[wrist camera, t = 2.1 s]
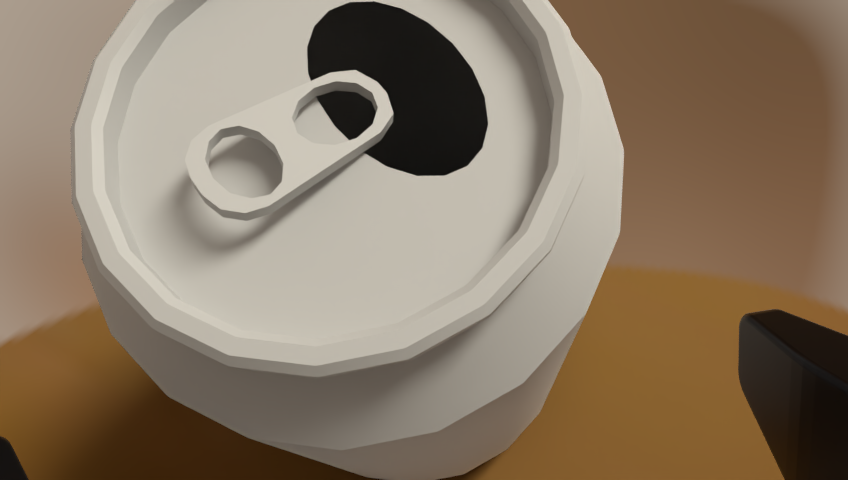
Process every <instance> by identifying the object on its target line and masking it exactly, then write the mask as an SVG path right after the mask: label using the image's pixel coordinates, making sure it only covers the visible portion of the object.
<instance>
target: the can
mask: <svg viewBox="0 0 848 480" xmlns="http://www.w3.org/2000/svg"><path fill="white" fill-rule="evenodd" d="M623 160H624V149H623V145H622V142H621V139H620V136H619V133H618V129H617V126H616V123H615V120H614V116H613V113H612V110H611V107H610V103H609V100H608V97H607V94H606V91H605V87H604V84H603V81H602V78H601V76H600V75H599V73H598V72H597V70H596V69H595V68H594V66H593V65H592V64H591V62H590V61H589V60H588V58H587V57H586V56H585V54H584V53H583V52H582V50H581V49H580V47H579V46H578V45H577V43H576V42H575V41H574V39H573V38H572V37H571V33H570V30H569V28H568V27H567V25H566V24H565V22H564V21H563V20H562V18H561V17H560V16H559V14H558V13H557V12H556V10H555V9H554V8H553V6H552V5H551V4H550V2H549V1H548V0H136V1H134V3H133V4H132V6H131V7H130V9H129V10H128V11H127V13H126V14H125V16H124V17H123V19H122V20H121V22H120V23H119V24H118V26H117V27H116V29H115V30H114V32H113V33H112V35H111V36H110V38H109V39H108V40H107V42H106V43H105V45H104V46H103V47H102V49H101V50H100V52H99V53H98V55H97V56H96V58H95V59H94V60H93V62H92V65H91V68H90V72H89V75H88V78H87V81H86V84H85V87H84V90H83V93H82V96H81V99H80V102H79V106H78V109H77V112H76V115H75V118H74V121H73V124H72V127H71V186H72V204H73V207H74V209H75V212H76V214H77V217H78V220H79V222H80V225H81V227H82V260H83V263H84V265H85V268H86V270H87V273H88V275H89V278H90V281H91V283H92V286H93V289H94V291H95V293H96V296H97V299H98V301H99V304H100V307H101V309H102V312H103V314H104V317H105V319H106V322H107V325H108V327H109V330H110V332H111V334H112V336H113V337H114V338H115V339H116V340H117V341H118V342H119V343H120V344H121V345H122V347H123V348H124V349H125V350H126V351H127V352H128V353H129V354H130V355H131V357H132V358H133V359H134V360H135V361H136V362H137V363H138V364H139V365H140V366H141V368H142V369H143V370H144V371H145V372H146V373H147V374H148V375H149V376H150V378H151V379H152V380H153V381H154V382H155V383H156V384H157V385H158V386H159V388H160V389H161V390H162V391H163V392H164V393H165V394H166V395H167V396H168V397H169V398H171V399H173V400H175V401H177V402H179V403H181V404H183V405H185V406H187V407H189V408H191V409H193V410H195V411H197V412H198V413H200V414H202V415H204V416H206V417H208V418H210V419H212V420H214V421H216V422H218V423H220V424H222V425H224V426H226V427H227V428H229V429H231V430H233V431H235V432H237V433H239V434H241V435H243V436H245V437H247V438H250V439H253V440H256V441H259V442H262V443H265V444H268V445H271V446H274V447H277V448H280V449H283V450H286V451H289V452H292V453H295V454H298V455H301V456H304V457H307V458H310V459H313V460H316V461H319V462H322V463H325V464H328V465H331V466H334V467H337V468H340V469H343V470H346V471H349V472H352V473H355V474H358V475H361V476H364V477H369V478H376V479H383V480H437V479H442V478H448V477H453V476H458V475H463V474H465V473H467V472H469V471H470V470H472V469H474V468H476V467H477V466H479V465H481V464H483V463H484V462H486V461H488V460H490V459H491V458H493V457H495V456H497V455H498V454H500V453H502V452H504V451H505V450H507V449H508V448H509V447H510V446H511V444H512V443H513V442H514V441H515V440H516V439H517V438H518V437H519V435H520V434H521V433H522V432H523V431H524V430H525V429H526V428H527V426H528V425H529V424H530V423H531V422H532V421H533V420H534V419H535V417H536V416H537V415H538V414H539V413H540V411H541V409H542V407H543V404H544V402H545V400H546V398H547V396H548V394H549V392H550V389H551V387H552V385H553V383H554V381H555V379H556V377H557V374H558V372H559V370H560V368H561V366H562V364H563V362H564V359H565V357H566V355H567V353H568V351H569V349H570V347H571V344H572V342H573V340H574V338H575V336H576V334H577V331H578V329H579V327H580V325H581V323H582V321H583V319H584V316H585V314H586V312H587V310H588V307H589V305H590V303H591V300H592V298H593V295H594V293H595V291H596V288H597V286H598V284H599V281H600V279H601V276H602V274H603V272H604V269H605V267H606V264H607V262H608V260H609V257H610V255H611V252H612V250H613V248H614V245H615V243H616V241H617V238H618V236H619V234H620V221H621V201H622V182H623V162H624V161H623Z"/></svg>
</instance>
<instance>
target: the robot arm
mask: <svg viewBox="0 0 848 480" xmlns="http://www.w3.org/2000/svg"><path fill="white" fill-rule="evenodd" d="M738 372H739V380H740V384H741V387H742V390H743V393H744V395H745V397H746V399H747V401H748V403H749V405H750V407H751V410H752V412H753V414H754V416H755V418H756V420H757V422H758V424H759V426H760V429H761V431H762V433H763V435H764V437H765V439H766V441H767V443H768V445H769V448H770V450H771V452H772V454H773V456H774V458H775V460H776V462H777V465H778V467H779V469H780V471H781V473H782V475H783V477H784V479H785V480H848V336H847V335H845V334H842V333H839V332H837V331H834V330H832V329H829V328H826V327H824V326H821V325H818V324H816V323H813V322H811V321H808V320H805V319H803V318H800V317H797V316H795V315H792V314H790V313H787V312H784V311H782V310H778V309H771V310H765V311H759V312H753V313H748V314H745V315H744V316H743V317H742V318H741V321H740V325H739V366H738ZM0 480H28V478H27V476H26V474H25V472H24V470H23V468H22V466H21V464H20V462H19V460H18V458H17V456H16V454H15V452H14V450H13V448H12V446H11V444H10V442H9V441H8V440H7V439H5V438H4V437H1V436H0Z"/></svg>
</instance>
